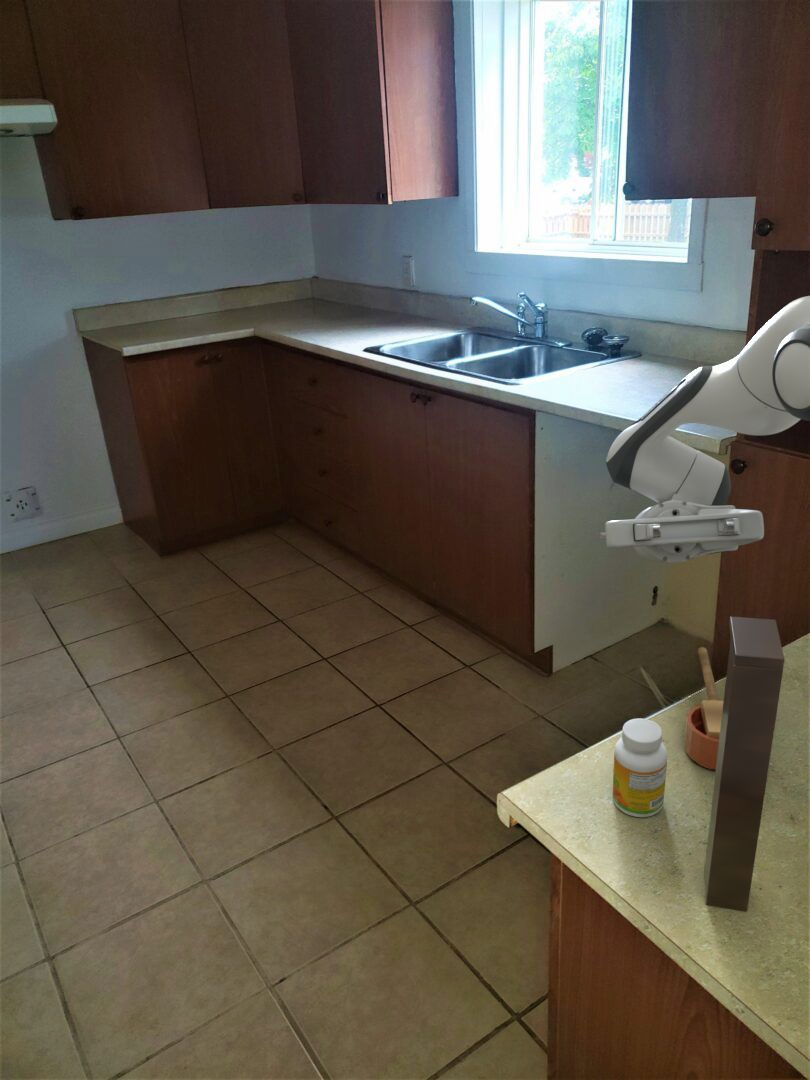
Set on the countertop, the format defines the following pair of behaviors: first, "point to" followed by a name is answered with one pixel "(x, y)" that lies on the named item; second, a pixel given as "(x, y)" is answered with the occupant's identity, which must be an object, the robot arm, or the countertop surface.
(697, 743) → the bowl
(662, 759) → the supplement bottle
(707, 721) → the tan wooden mallet
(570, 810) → the countertop surface
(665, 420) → the robot arm
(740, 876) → the tall brown pillar
